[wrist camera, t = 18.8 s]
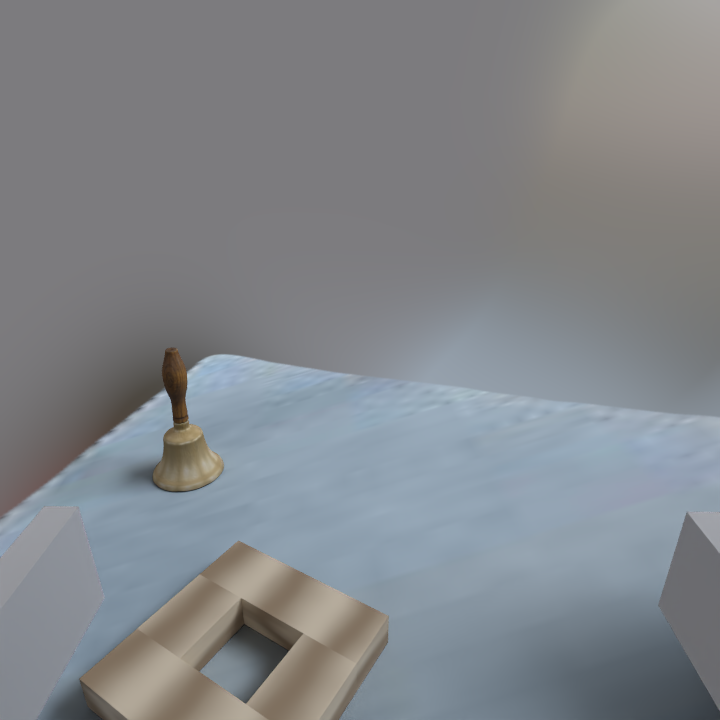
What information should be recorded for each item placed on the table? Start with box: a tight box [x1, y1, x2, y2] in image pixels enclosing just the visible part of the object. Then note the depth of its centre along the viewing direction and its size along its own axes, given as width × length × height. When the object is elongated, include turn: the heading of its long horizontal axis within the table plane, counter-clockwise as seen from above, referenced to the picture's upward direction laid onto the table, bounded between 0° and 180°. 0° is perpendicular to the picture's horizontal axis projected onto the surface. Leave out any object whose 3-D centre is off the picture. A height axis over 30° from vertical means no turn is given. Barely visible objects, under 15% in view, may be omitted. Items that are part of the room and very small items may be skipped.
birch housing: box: [79, 541, 389, 720], centre depth 41 cm, size 16×16×3 cm
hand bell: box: [153, 348, 224, 492], centre depth 62 cm, size 8×8×16 cm
